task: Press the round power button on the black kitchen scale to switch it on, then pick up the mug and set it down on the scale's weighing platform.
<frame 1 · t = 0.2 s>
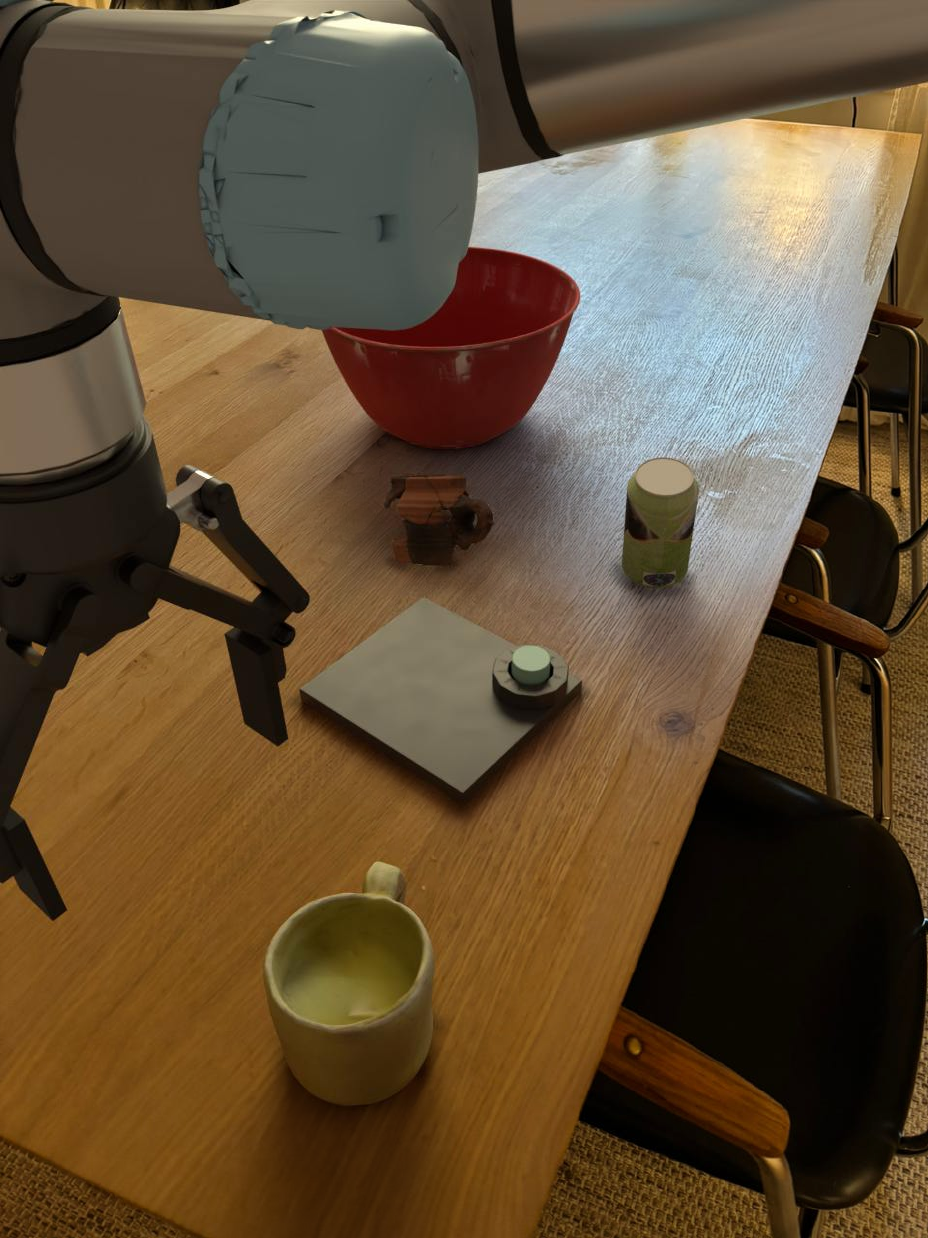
hand: (163, 809, 50), 17 cm above the table, tool pointing down, fingers open, 13 cm apart
mixing bowl: (448, 421, 115), on the table
power button: (530, 665, 78), point 3 cm above the table, slide at 0.1 cm
pottery mug: (439, 544, 96), on the table
mug: (369, 1010, 60), on the table
scale: (441, 696, 80), on the table
beverage can: (651, 580, 92), on the table
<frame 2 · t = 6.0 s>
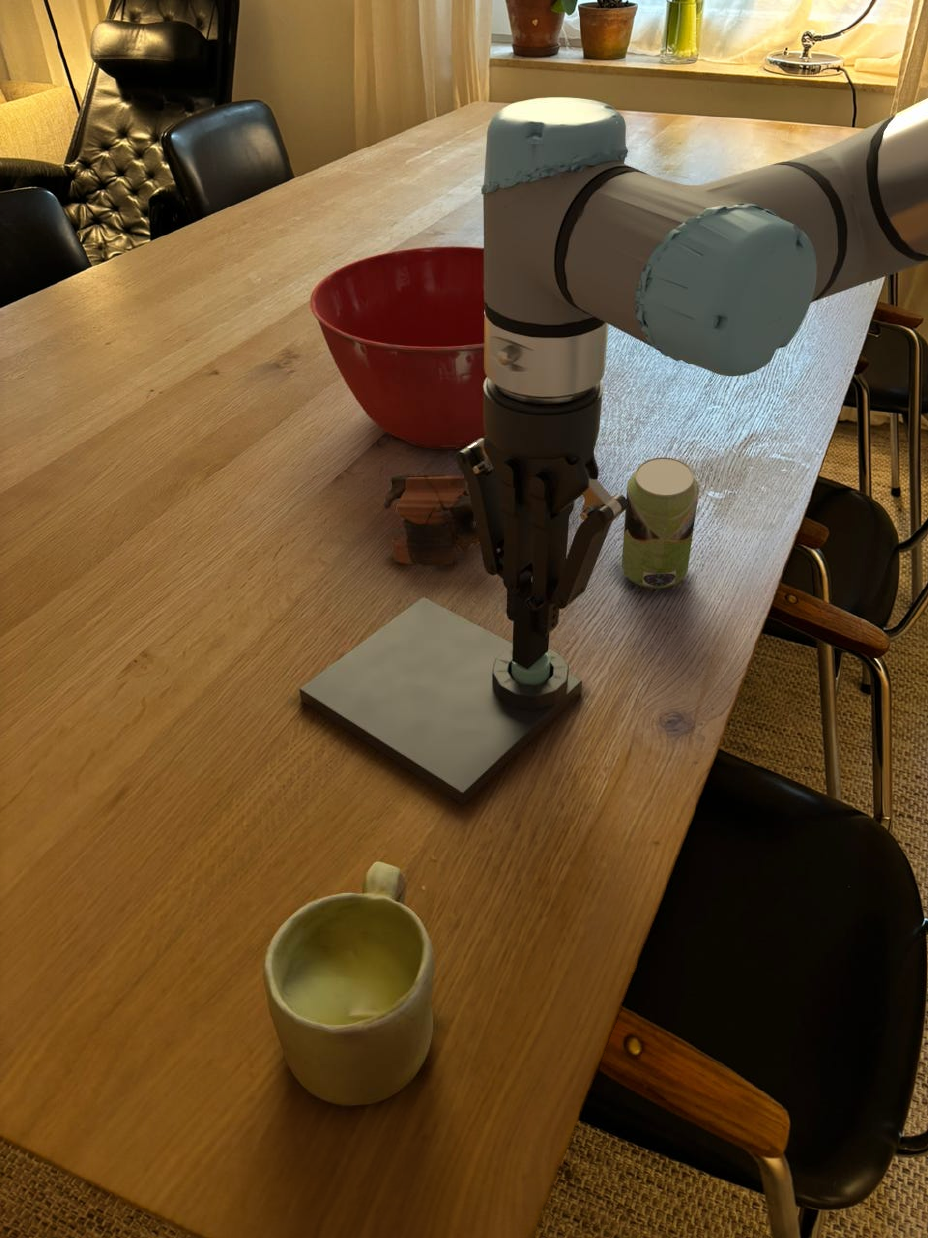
hand: (530, 655, 77), 4 cm above the table, tool pointing down, fingers closed
power button: (530, 666, 78), point 3 cm above the table, slide at 0.0 cm, touching gripper
everything else where it was.
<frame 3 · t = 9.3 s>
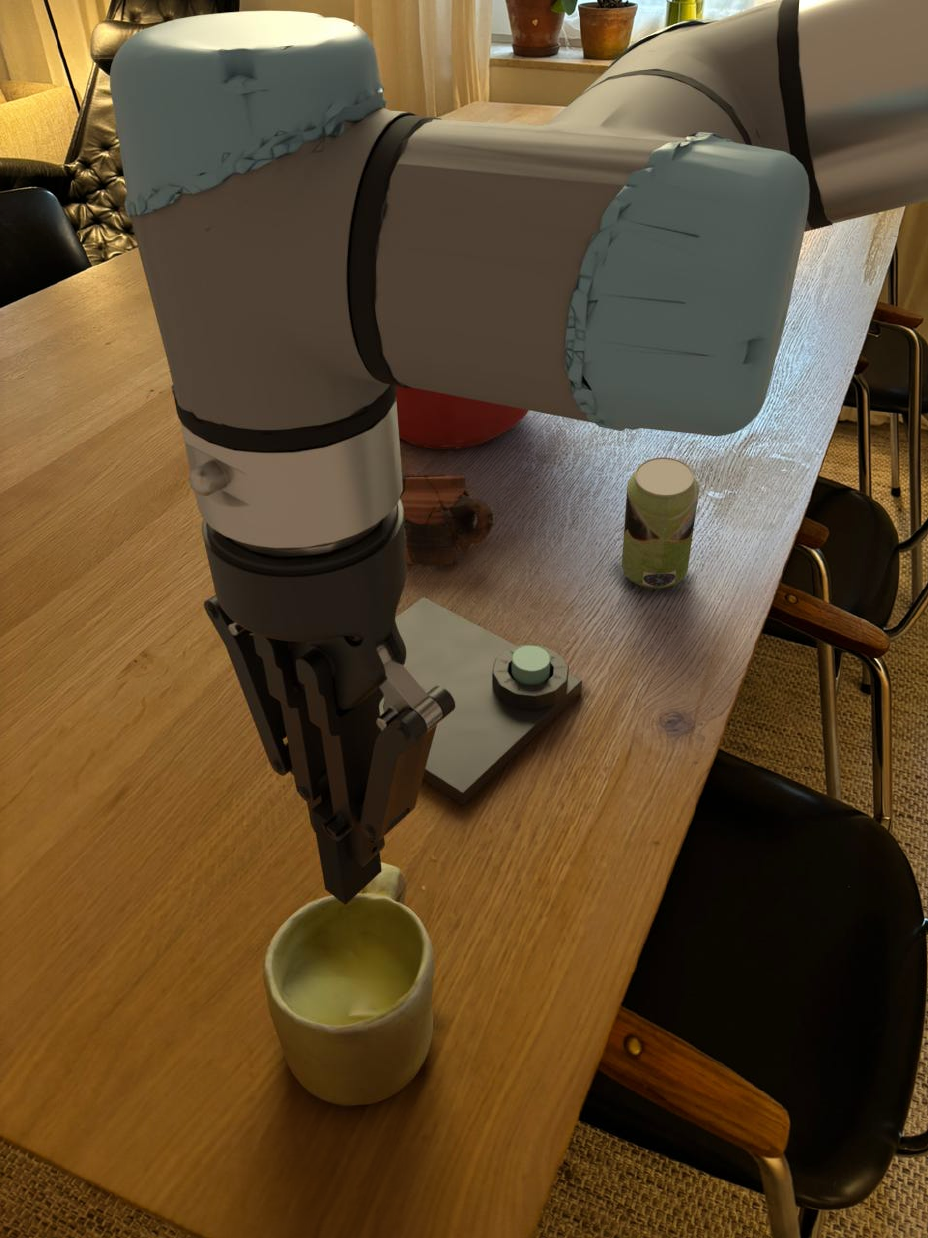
hand: (353, 880, 52), 12 cm above the table, tool pointing down, fingers closed
power button: (530, 665, 78), point 3 cm above the table, slide at 0.1 cm
everything else where it was.
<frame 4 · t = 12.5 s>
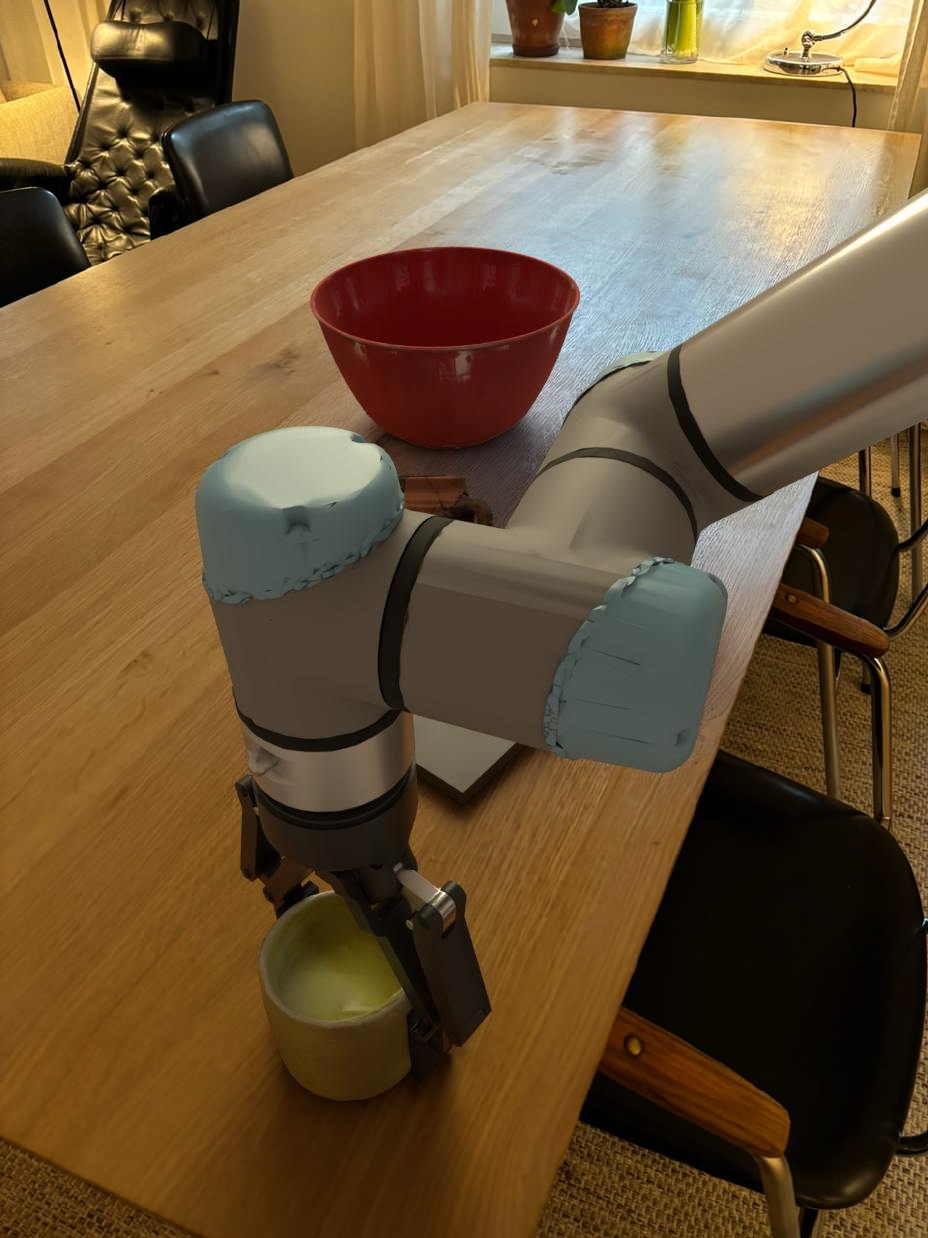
hand: (368, 1007, 60), 0 cm above the table, tool pointing down, fingers closed on mug, 9 cm apart
mug: (364, 1006, 60), on the table, touching gripper
everything else where it was.
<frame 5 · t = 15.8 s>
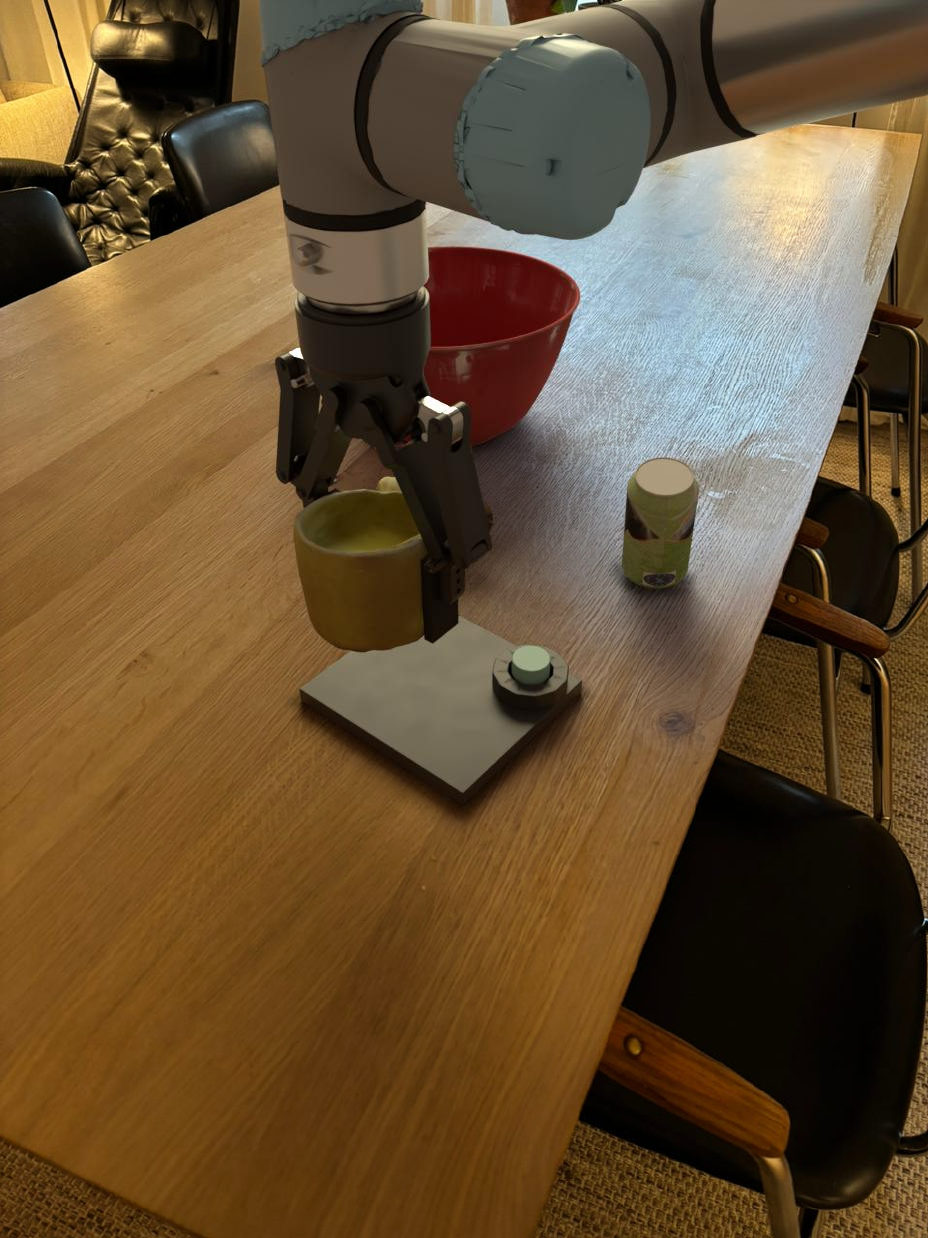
hand: (385, 601, 69), 13 cm above the table, tool pointing down, fingers closed on mug, 9 cm apart
mug: (381, 604, 70), point 12 cm above the table, touching gripper
everything else where it was.
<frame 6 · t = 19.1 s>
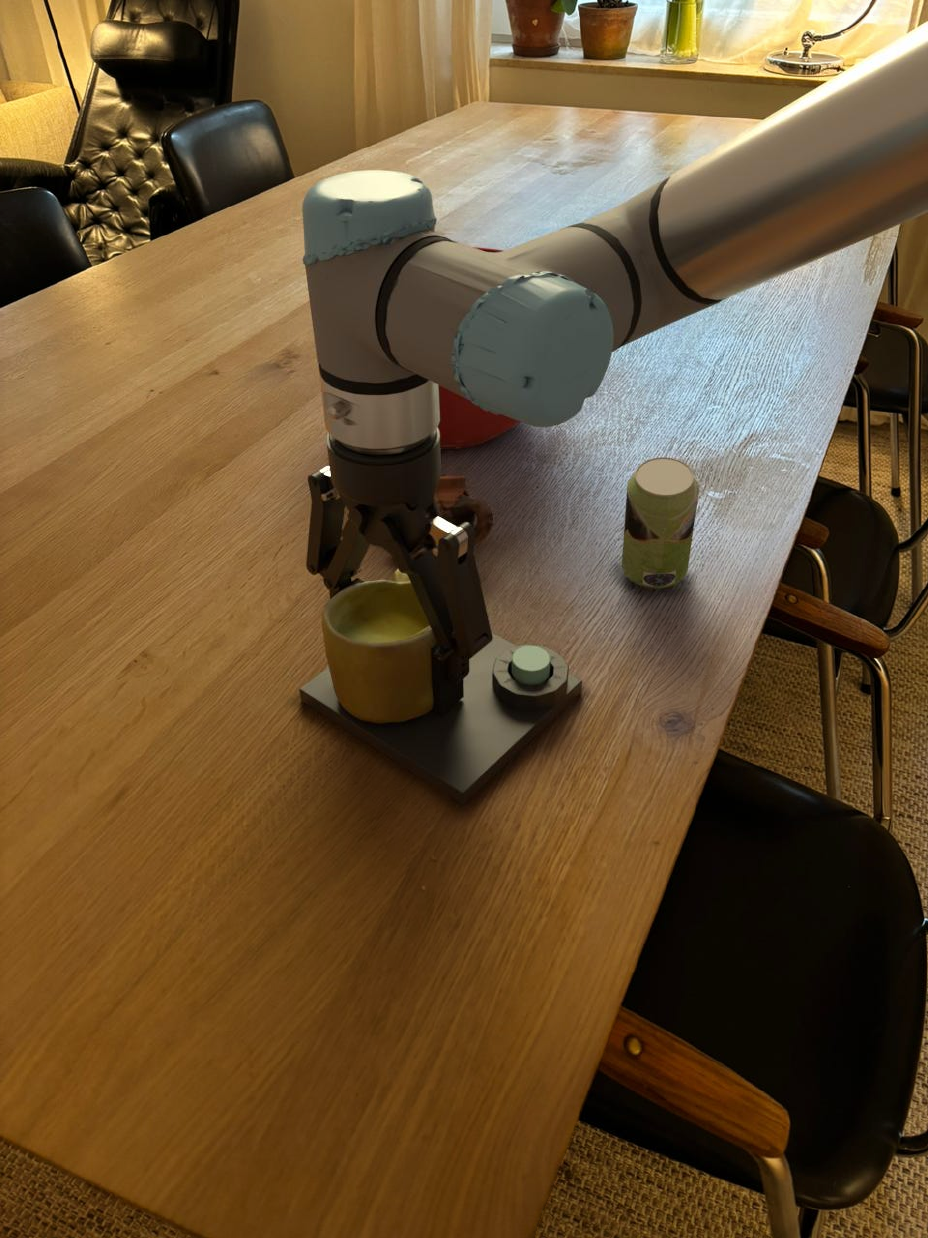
hand: (400, 675, 80), 2 cm above the table, tool pointing down, fingers closed on mug, 9 cm apart
mug: (396, 677, 80), point 1 cm above the table, touching gripper, scale
everything else where it was.
when the fingers open (2 cm above the table, at t = 19.4 s): mug stays where it is, resting on scale.
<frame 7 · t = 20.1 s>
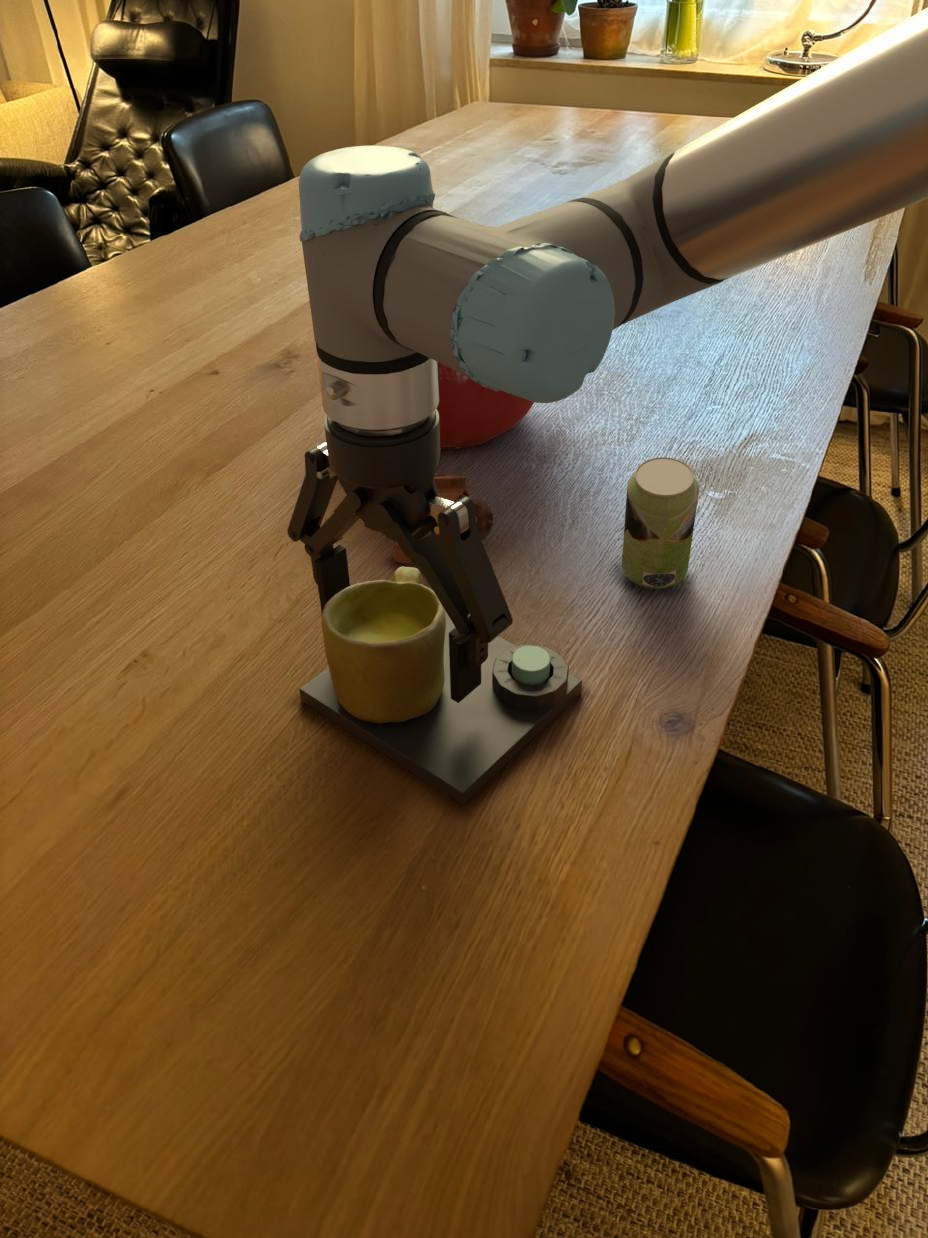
hand: (399, 653, 78), 4 cm above the table, tool pointing down, fingers open, 13 cm apart
mug: (396, 677, 80), point 1 cm above the table, touching scale
everything else where it was.
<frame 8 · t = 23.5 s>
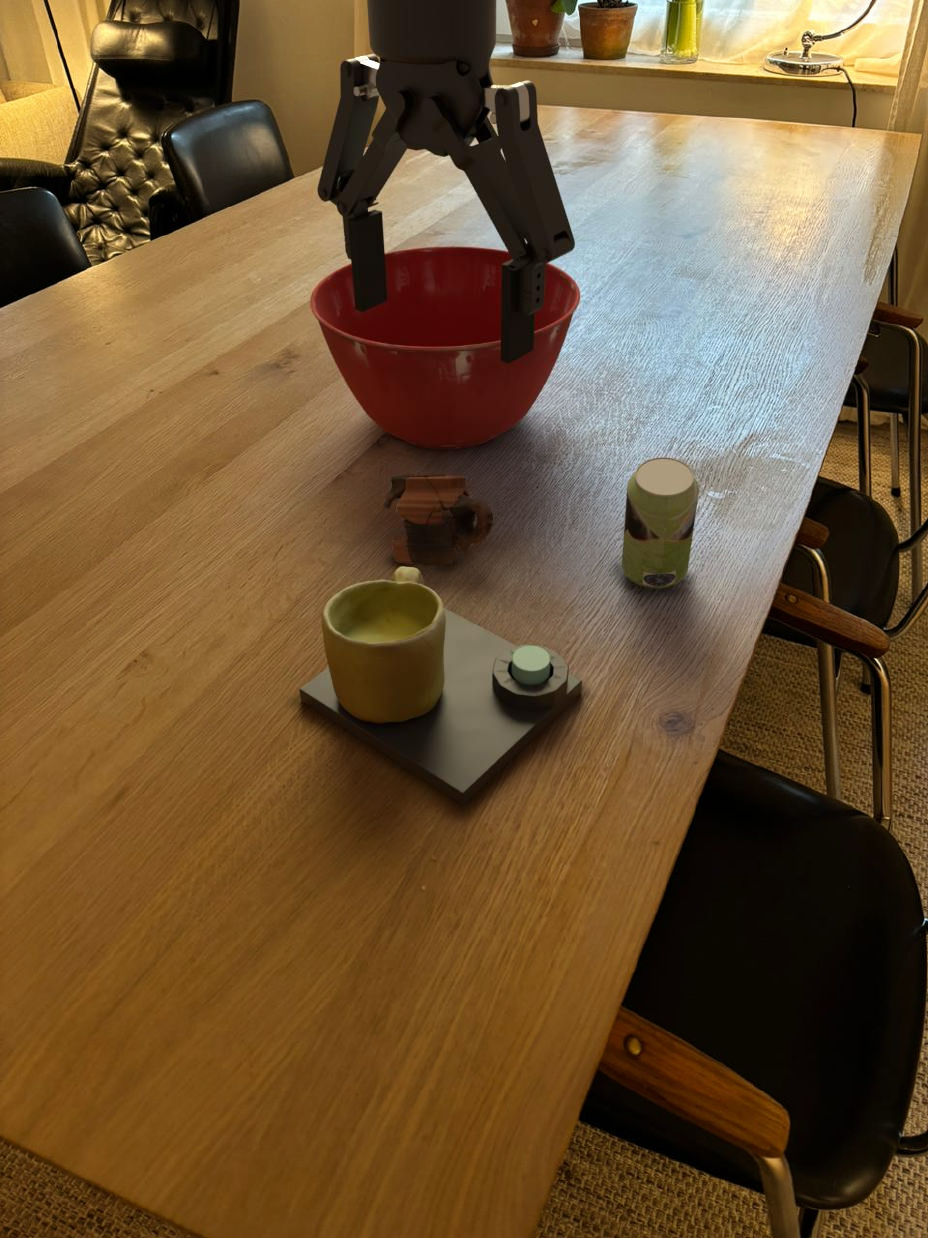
hand: (440, 329, 70), 27 cm above the table, tool pointing down, fingers open, 13 cm apart
nothing on the table moved.
at the end: power button pushed in 0.5 cm at the most during the clip, back to where it started at the end; mug inside the target area on the scale (1.1 cm from its centre), point 1.2 cm above the scale's base; mug touching scale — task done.
